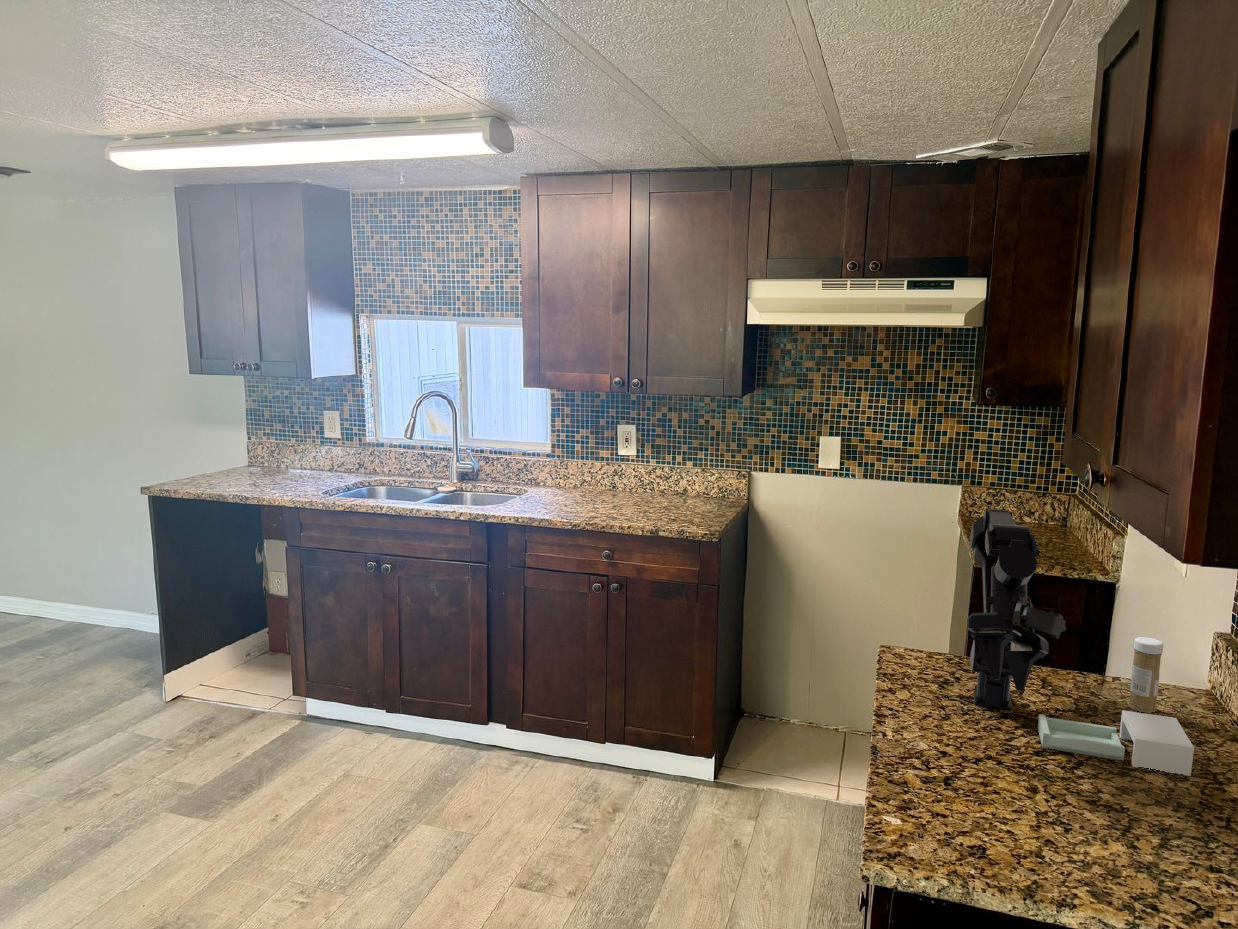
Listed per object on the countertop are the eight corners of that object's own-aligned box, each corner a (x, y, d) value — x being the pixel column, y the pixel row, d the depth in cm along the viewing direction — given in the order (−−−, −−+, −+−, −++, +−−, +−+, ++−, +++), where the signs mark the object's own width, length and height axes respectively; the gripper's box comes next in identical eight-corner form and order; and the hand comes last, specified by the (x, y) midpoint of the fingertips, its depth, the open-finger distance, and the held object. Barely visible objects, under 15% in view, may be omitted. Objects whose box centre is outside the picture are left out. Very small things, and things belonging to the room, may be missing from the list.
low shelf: (1119, 736, 147) (1122, 710, 147) (1173, 744, 144) (1176, 718, 144) (1132, 766, 137) (1135, 738, 136) (1190, 776, 134) (1194, 747, 133)
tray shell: (1037, 727, 150) (1038, 714, 150) (1114, 739, 146) (1116, 725, 146) (1042, 747, 143) (1043, 733, 143) (1123, 760, 139) (1125, 745, 138)
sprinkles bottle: (1162, 713, 157) (1169, 643, 155) (1141, 715, 156) (1149, 645, 154) (1141, 703, 161) (1148, 635, 159) (1121, 705, 160) (1128, 637, 158)
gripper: (1034, 576, 136) (1034, 674, 131) (1079, 606, 147) (1081, 698, 142) (966, 580, 144) (964, 673, 139) (1014, 608, 155) (1014, 695, 150)
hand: (1008, 685), depth 142 cm, fingers open, 9 cm apart
